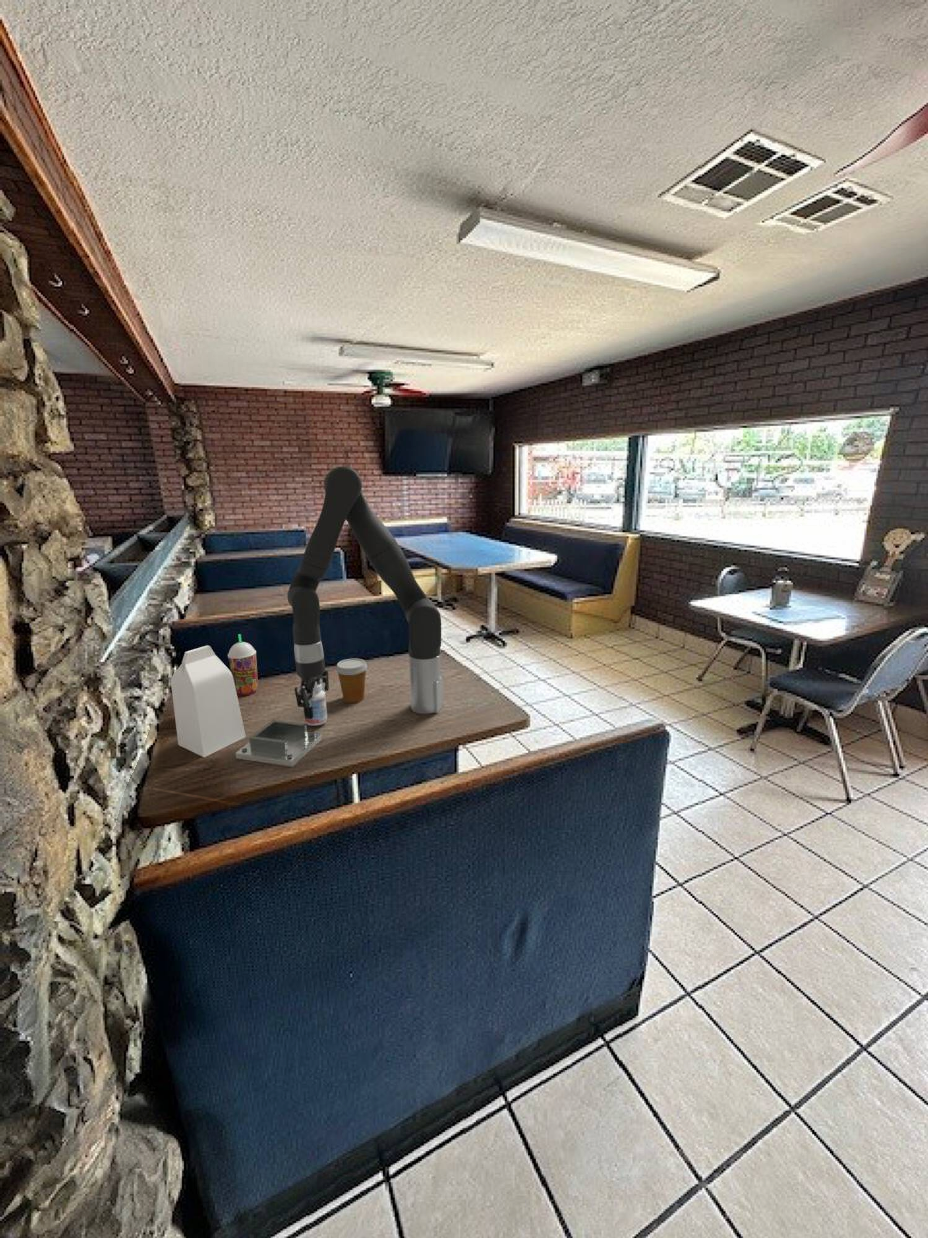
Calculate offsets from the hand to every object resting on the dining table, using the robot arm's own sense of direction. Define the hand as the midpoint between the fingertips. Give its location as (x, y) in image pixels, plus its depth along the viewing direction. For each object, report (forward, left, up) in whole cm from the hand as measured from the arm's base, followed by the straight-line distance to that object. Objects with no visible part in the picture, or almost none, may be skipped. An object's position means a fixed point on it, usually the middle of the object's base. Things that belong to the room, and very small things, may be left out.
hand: (315, 712), depth 143 cm
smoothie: (+33, -14, -4) cm, 36 cm away
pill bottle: (0, 0, -3) cm, 3 cm away
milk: (+22, +15, -4) cm, 27 cm away
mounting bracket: (+2, +14, -4) cm, 15 cm away
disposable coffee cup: (-3, -18, -4) cm, 19 cm away
